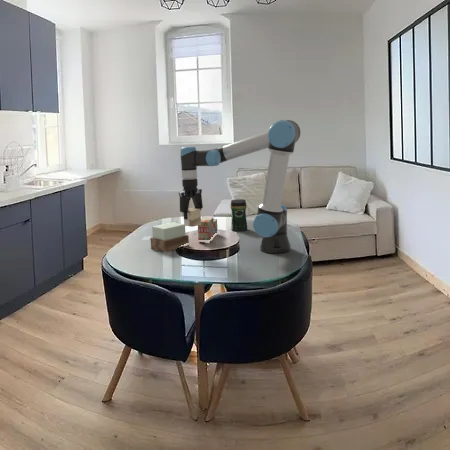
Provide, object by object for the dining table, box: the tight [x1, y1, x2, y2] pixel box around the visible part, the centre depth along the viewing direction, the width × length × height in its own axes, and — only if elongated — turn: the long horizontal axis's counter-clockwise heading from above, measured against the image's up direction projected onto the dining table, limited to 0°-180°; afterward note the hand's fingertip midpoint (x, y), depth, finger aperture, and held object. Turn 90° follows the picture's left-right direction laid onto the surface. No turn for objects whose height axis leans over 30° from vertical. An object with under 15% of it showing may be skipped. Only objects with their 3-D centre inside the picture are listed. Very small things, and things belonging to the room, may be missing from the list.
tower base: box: [150, 234, 190, 253], centre depth 264 cm, size 12×16×6 cm
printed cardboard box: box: [197, 216, 219, 240], centre depth 280 cm, size 21×6×12 cm, turn 168°
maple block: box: [183, 207, 202, 228], centre depth 250 cm, size 6×6×8 cm
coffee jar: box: [230, 198, 248, 232], centre depth 298 cm, size 10×8×19 cm
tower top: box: [151, 221, 187, 241], centre depth 263 cm, size 10×14×6 cm
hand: (192, 224), depth 251 cm, fingers closed on maple block, 6 cm apart
